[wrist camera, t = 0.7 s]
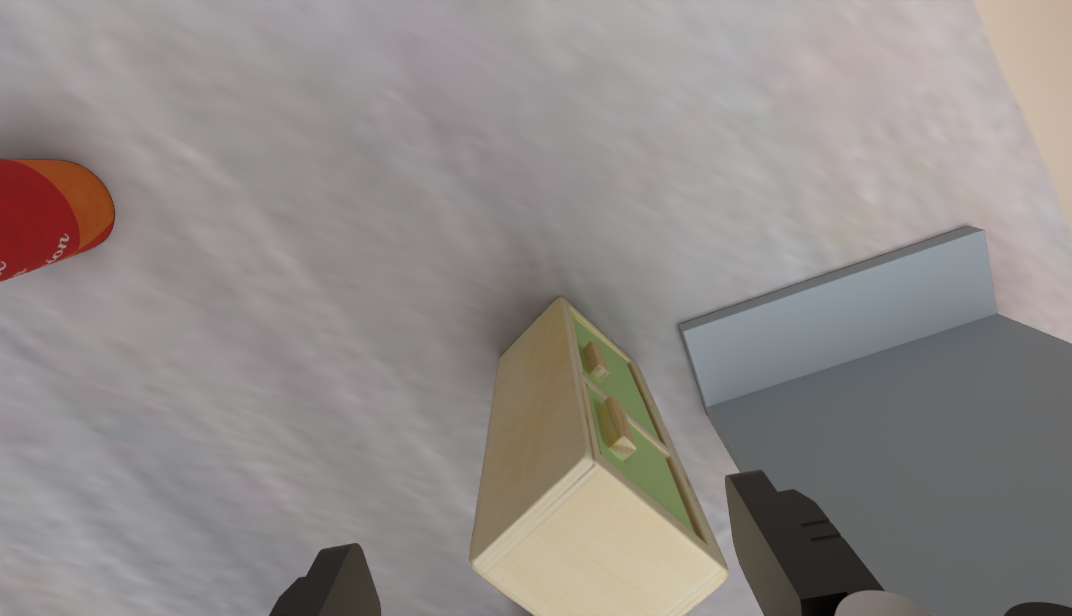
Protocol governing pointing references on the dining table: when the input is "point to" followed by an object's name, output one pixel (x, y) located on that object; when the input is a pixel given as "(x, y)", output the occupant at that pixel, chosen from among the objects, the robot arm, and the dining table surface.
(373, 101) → the dining table surface
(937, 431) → the wall board
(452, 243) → the dining table surface
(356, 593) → the robot arm
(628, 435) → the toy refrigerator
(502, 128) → the dining table surface
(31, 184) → the coffee cup
